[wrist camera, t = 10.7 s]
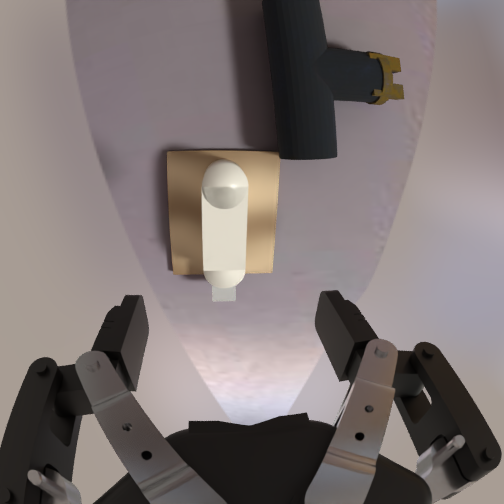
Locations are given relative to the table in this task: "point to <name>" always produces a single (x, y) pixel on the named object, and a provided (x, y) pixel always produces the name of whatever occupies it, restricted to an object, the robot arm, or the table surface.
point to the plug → (224, 227)
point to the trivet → (190, 206)
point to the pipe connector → (317, 78)
